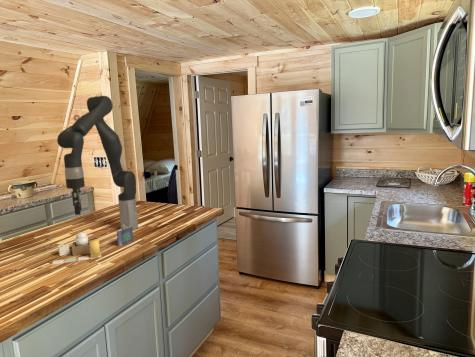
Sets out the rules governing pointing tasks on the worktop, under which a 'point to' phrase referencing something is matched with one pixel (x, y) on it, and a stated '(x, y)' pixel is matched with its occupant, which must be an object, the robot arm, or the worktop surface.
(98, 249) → the yellow rounded oblong piece
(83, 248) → the board
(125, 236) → the navy rounded piece
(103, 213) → the worktop surface
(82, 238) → the white rounded egg-shaped piece
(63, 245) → the die
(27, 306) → the worktop surface
